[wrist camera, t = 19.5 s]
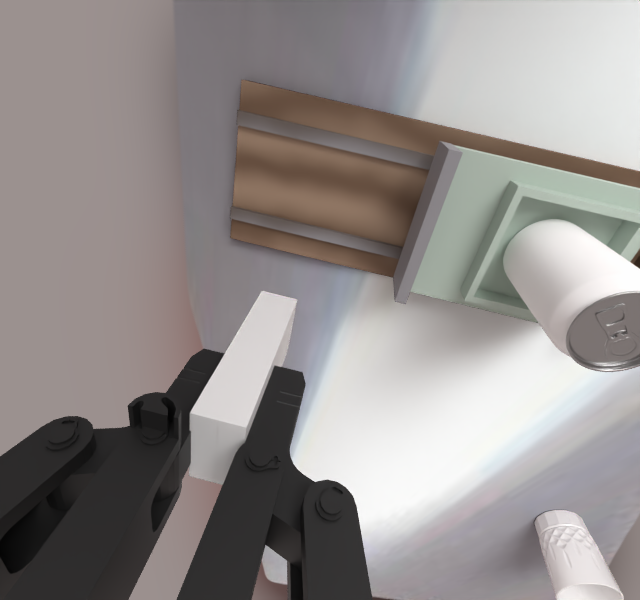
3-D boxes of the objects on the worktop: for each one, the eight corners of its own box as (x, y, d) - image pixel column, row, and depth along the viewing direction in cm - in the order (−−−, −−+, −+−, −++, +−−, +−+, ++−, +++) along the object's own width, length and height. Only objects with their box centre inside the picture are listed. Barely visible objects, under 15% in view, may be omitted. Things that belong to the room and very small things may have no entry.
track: (245, 79, 33) (233, 79, 30) (699, 185, 32) (728, 193, 29) (233, 234, 40) (223, 244, 38) (598, 323, 39) (614, 339, 37)
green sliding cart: (437, 139, 31) (449, 149, 26) (645, 187, 31) (701, 207, 25) (392, 271, 38) (394, 301, 33) (563, 313, 37) (593, 349, 32)
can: (516, 298, 34) (576, 390, 23) (489, 241, 31) (543, 315, 21) (594, 267, 31) (700, 354, 21) (571, 202, 29) (677, 264, 19)
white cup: (590, 533, 57) (627, 611, 49) (535, 538, 60) (561, 613, 51) (582, 503, 54) (620, 581, 45) (525, 510, 57) (551, 585, 48)
